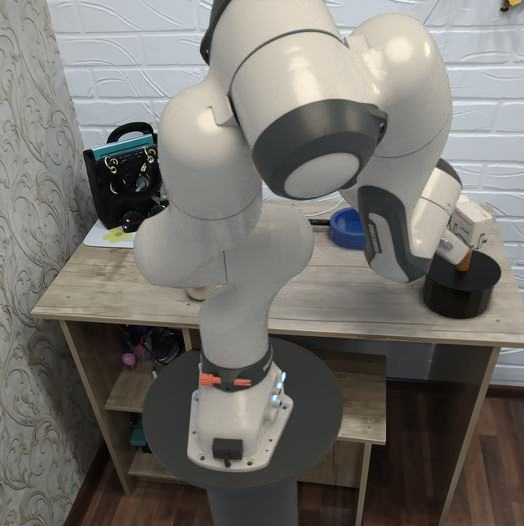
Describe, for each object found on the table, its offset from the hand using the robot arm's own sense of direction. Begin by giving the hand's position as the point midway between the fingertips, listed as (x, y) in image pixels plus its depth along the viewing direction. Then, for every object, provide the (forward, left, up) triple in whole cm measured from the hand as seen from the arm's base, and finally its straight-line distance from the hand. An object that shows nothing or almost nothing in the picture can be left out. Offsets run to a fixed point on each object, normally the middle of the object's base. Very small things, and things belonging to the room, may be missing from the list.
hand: (435, 243), depth 106 cm
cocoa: (+40, -9, -18) cm, 45 cm away
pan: (+31, +15, -18) cm, 39 cm away
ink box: (+24, -10, -18) cm, 31 cm away
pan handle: (+31, +26, -15) cm, 43 cm away
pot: (+7, -7, -18) cm, 20 cm away
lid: (+7, -7, -10) cm, 14 cm away
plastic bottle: (+3, +48, -18) cm, 51 cm away
